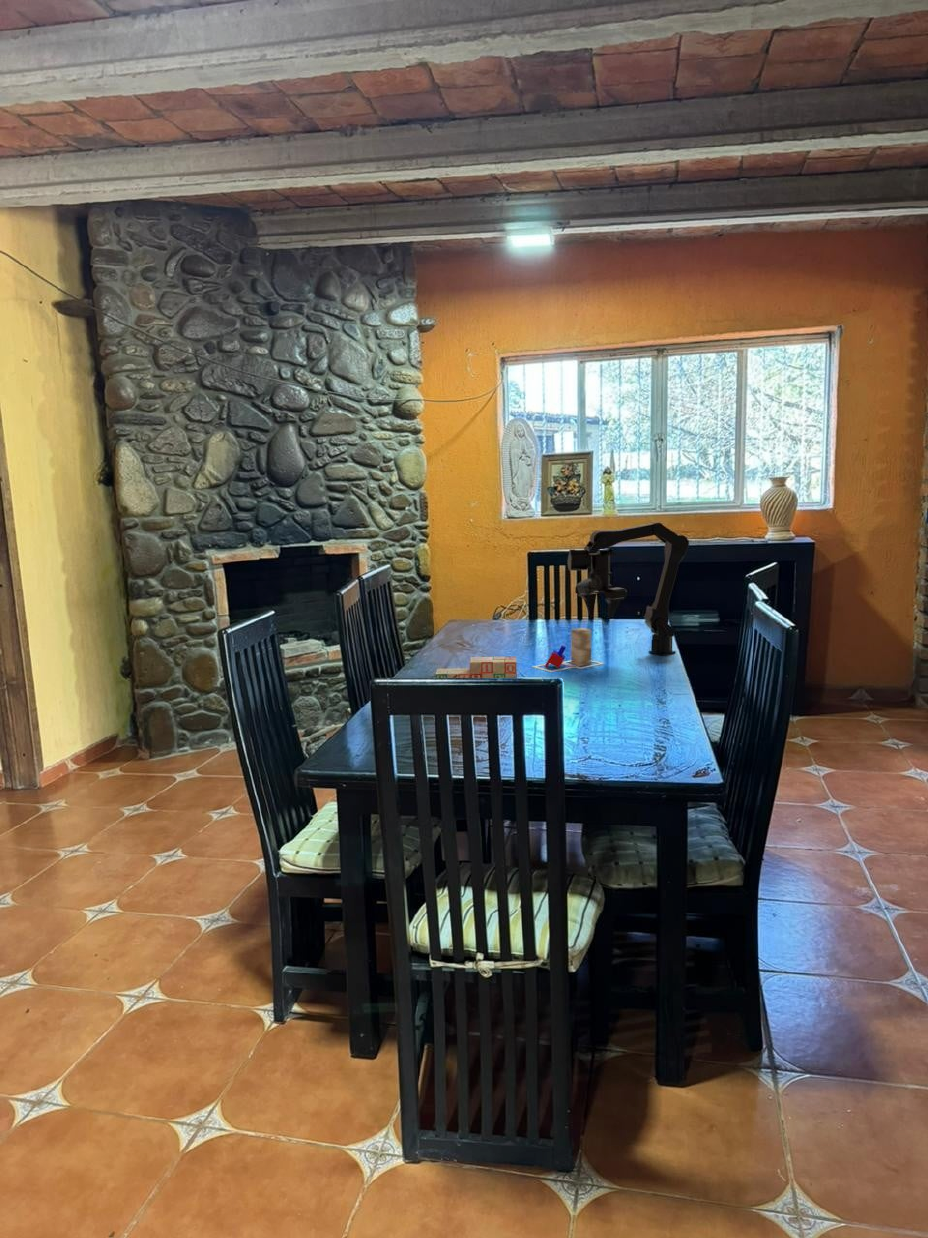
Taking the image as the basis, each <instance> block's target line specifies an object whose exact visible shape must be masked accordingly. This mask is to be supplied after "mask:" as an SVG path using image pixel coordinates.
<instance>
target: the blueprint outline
mask: <svg viewBox="0 0 928 1238" xmlns="http://www.w3.org/2000/svg"><path fill="white" fill-rule="evenodd" d="M591 663H593V664H590V665H583V666H577V665H575V664H572V663H571V659H570V660H566V661H563V662H562V664H561V665H563V666H567V667H563V668H558V669H553V670H550V669H547V668H545V665H546V663H544V664H543V663H542V664H537V665H533V666H531V668H533V669H538V670H540V671H544V672H548V673H555V672H560V671H565V670H570V669H574V668H575V669H579V670H583V669H587V668H591V667H598V666H602V665H605V664H606V663H604V662H601V661H597V660H592V659H591ZM550 665H552V664H550V663H549V665H548V666H550ZM543 667H544V668H543Z"/></svg>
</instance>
